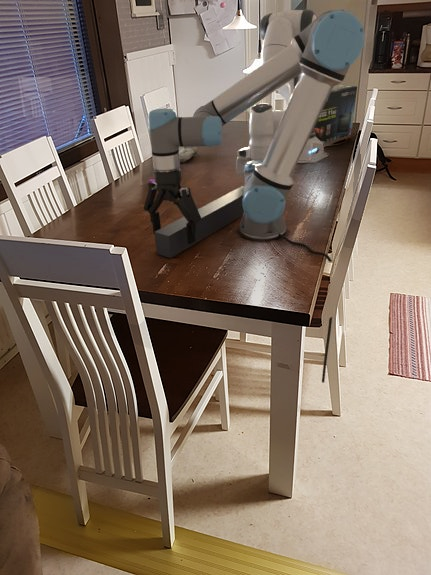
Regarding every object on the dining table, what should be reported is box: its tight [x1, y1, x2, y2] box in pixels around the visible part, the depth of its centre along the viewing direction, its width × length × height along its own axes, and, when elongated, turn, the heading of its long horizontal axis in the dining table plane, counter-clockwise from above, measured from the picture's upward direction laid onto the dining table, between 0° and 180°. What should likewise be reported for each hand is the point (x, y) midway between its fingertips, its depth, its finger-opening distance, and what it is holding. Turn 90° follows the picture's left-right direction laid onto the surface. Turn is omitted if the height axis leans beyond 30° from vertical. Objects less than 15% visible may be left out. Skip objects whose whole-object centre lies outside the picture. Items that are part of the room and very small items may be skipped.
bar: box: [153, 185, 244, 259], centre depth 157 cm, size 61×6×7 cm, turn 144°
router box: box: [314, 84, 358, 144], centre depth 238 cm, size 36×11×27 cm, turn 134°
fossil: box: [179, 146, 199, 163], centre depth 229 cm, size 18×11×15 cm
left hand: (174, 237), depth 139 cm, fingers open, 13 cm apart
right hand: (260, 189), depth 174 cm, fingers open, 8 cm apart
